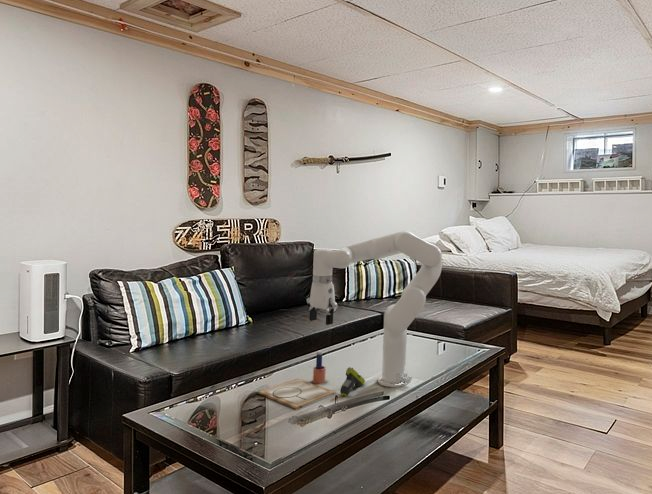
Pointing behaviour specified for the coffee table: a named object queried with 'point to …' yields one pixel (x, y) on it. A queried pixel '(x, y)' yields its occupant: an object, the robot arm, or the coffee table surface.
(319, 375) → the pen pot
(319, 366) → the pen
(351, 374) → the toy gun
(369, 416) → the coffee table surface
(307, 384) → the drawing board
